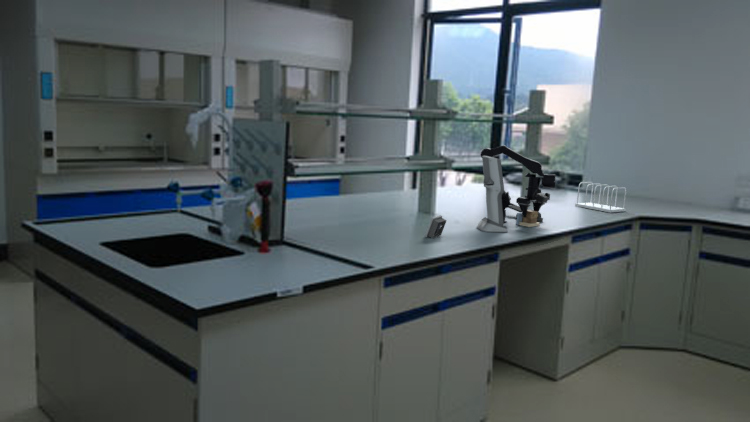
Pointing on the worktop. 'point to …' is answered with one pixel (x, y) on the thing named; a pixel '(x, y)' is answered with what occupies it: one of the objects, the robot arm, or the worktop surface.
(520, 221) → the blue and beige sponge
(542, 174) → the robot arm
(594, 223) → the worktop surface
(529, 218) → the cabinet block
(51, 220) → the worktop surface
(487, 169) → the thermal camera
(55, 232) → the worktop surface
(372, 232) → the worktop surface
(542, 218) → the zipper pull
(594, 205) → the file sorter
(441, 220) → the electrical switch
